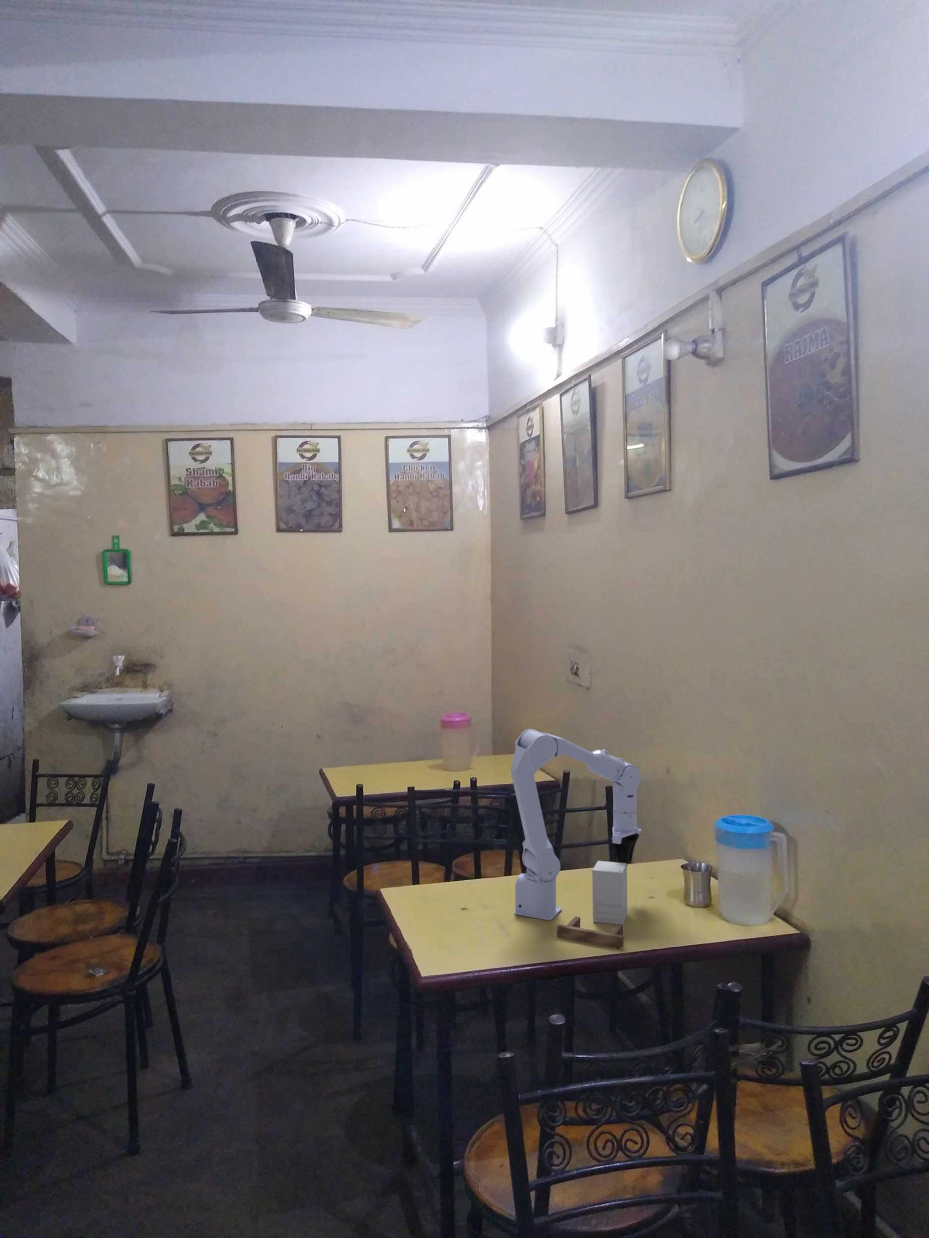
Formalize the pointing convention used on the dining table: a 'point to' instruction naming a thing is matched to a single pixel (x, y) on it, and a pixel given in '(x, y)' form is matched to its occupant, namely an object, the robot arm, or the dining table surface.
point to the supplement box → (609, 892)
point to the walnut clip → (591, 934)
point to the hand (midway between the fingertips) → (624, 864)
